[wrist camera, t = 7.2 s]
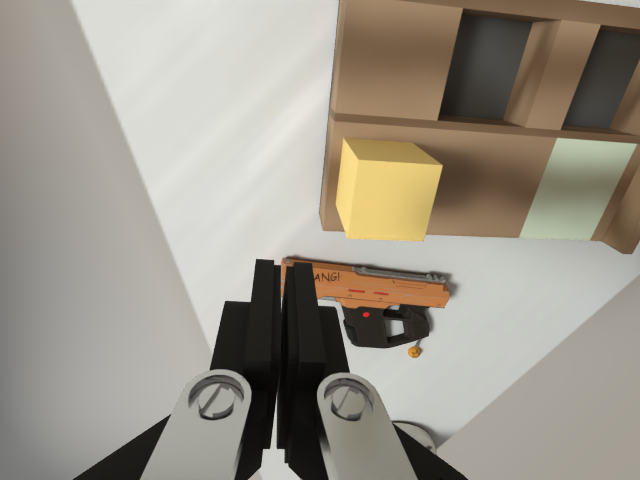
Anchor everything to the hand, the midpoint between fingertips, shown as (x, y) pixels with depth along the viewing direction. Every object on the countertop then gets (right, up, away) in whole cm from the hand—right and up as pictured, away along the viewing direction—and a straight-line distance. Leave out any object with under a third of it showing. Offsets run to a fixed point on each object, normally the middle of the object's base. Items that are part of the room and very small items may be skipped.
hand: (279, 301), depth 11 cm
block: (+5, +6, +13) cm, 15 cm away
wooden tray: (+13, +10, +15) cm, 22 cm away
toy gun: (+5, -4, +23) cm, 24 cm away
